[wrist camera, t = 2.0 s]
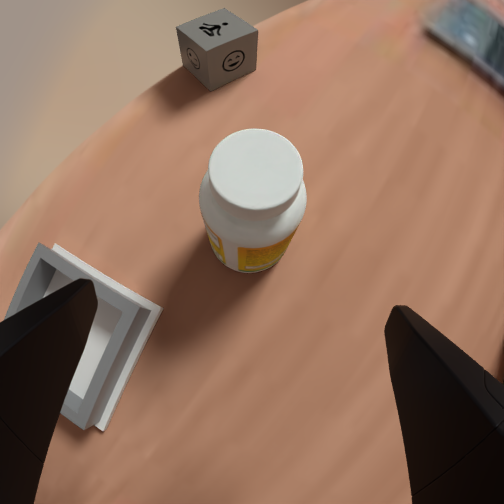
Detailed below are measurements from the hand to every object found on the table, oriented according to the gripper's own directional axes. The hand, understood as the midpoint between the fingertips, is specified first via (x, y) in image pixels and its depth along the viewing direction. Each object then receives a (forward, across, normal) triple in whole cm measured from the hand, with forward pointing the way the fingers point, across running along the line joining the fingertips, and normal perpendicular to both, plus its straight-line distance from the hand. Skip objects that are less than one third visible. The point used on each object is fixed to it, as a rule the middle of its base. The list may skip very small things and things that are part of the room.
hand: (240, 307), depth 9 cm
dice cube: (+25, +4, -7) cm, 26 cm away
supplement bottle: (+13, 0, +5) cm, 14 cm away
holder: (+7, +12, +10) cm, 17 cm away
